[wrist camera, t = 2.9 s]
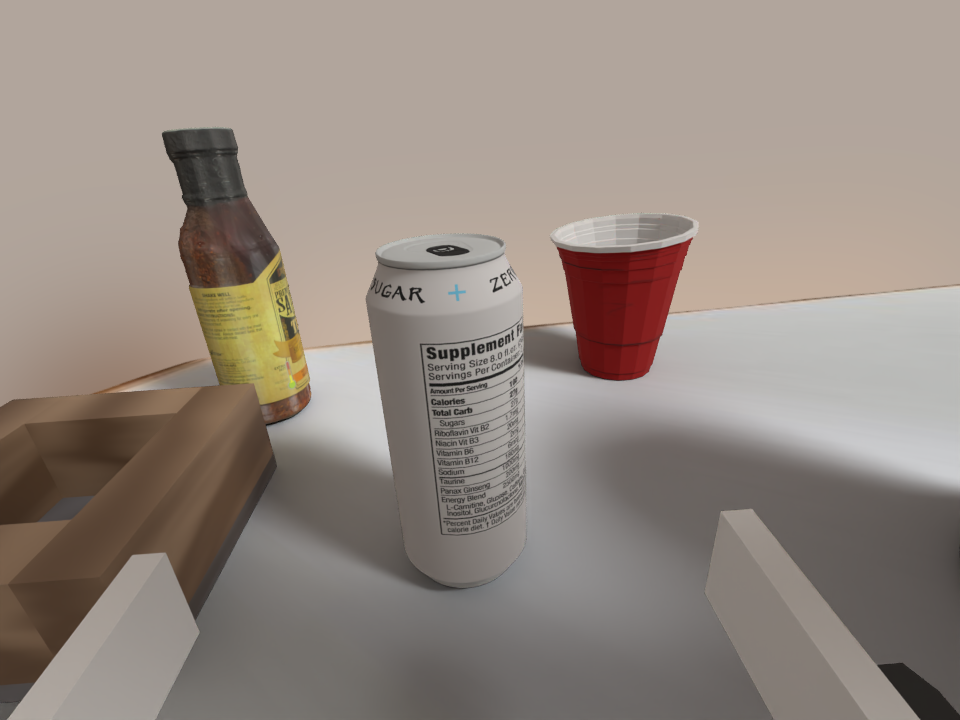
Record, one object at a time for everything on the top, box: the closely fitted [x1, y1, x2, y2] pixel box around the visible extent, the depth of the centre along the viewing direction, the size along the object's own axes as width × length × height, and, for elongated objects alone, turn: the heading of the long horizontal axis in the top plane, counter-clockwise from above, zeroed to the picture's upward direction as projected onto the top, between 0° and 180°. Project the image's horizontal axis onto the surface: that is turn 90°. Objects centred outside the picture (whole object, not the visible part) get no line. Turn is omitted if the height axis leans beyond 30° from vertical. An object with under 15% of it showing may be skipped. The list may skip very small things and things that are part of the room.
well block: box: [0, 383, 277, 703], centre depth 24 cm, size 14×14×6 cm
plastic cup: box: [550, 213, 699, 380], centre depth 40 cm, size 11×11×12 cm
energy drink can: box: [366, 234, 527, 588], centre depth 21 cm, size 6×6×15 cm
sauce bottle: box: [162, 127, 311, 424], centre depth 35 cm, size 7×6×20 cm
